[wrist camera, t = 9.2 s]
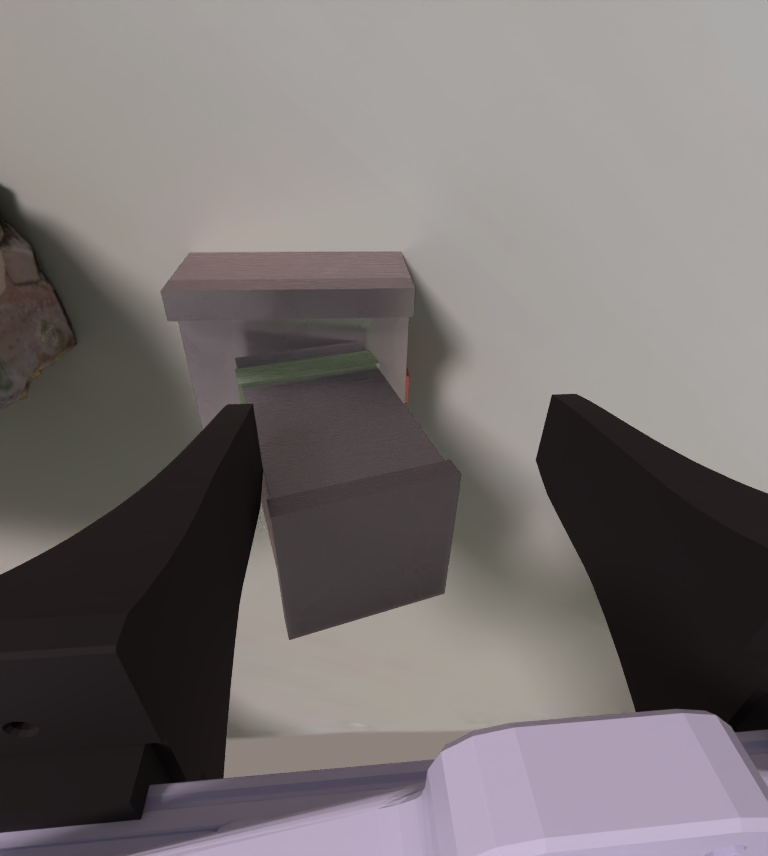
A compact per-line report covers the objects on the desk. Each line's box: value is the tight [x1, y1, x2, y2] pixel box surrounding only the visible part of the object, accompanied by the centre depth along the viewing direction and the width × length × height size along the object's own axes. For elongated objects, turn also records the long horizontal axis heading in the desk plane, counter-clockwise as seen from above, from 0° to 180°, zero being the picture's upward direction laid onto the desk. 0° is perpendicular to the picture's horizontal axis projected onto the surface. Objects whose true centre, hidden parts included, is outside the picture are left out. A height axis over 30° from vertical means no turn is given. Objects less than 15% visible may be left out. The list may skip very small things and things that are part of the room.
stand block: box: [161, 252, 415, 429], centre depth 20 cm, size 9×8×4 cm
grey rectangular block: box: [235, 341, 461, 640], centre depth 16 cm, size 5×5×8 cm
